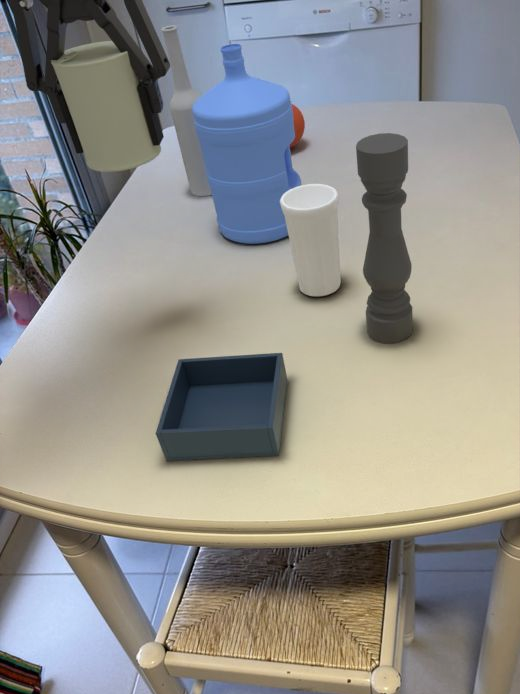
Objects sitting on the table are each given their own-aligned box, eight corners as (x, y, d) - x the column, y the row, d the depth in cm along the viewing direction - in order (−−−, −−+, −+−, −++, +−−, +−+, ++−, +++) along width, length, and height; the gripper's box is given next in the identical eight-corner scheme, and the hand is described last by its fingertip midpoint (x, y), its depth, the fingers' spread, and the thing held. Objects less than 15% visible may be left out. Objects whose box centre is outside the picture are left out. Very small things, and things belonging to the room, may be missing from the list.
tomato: (253, 147, 141) (244, 98, 134) (296, 135, 143) (289, 86, 136) (270, 162, 134) (262, 111, 127) (315, 149, 136) (309, 98, 129)
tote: (166, 461, 75) (155, 433, 72) (187, 386, 84) (178, 359, 81) (279, 455, 73) (272, 427, 70) (287, 380, 83) (282, 352, 80)
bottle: (230, 187, 127) (195, 24, 108) (202, 199, 125) (161, 34, 105) (212, 178, 131) (175, 20, 112) (184, 190, 129) (142, 30, 109)
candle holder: (375, 314, 91) (364, 131, 74) (418, 319, 89) (416, 133, 72) (361, 340, 87) (345, 153, 70) (405, 346, 85) (401, 155, 68)
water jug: (246, 256, 107) (206, 71, 88) (204, 224, 117) (161, 51, 98) (324, 223, 112) (303, 41, 93) (278, 195, 122) (251, 26, 103)
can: (73, 161, 80) (34, 53, 72) (137, 136, 84) (106, 32, 76) (110, 178, 75) (72, 64, 67) (175, 151, 79) (147, 41, 71)
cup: (358, 283, 97) (350, 192, 87) (319, 308, 94) (307, 216, 84) (320, 267, 102) (309, 178, 92) (282, 290, 98) (267, 200, 88)
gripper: (162, -109, 65) (211, 124, 81) (-42, -81, 67) (45, 142, 82) (146, -100, 60) (202, 148, 75) (-75, -71, 61) (25, 166, 77)
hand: (120, 145), depth 79 cm, fingers closed on can, 9 cm apart
